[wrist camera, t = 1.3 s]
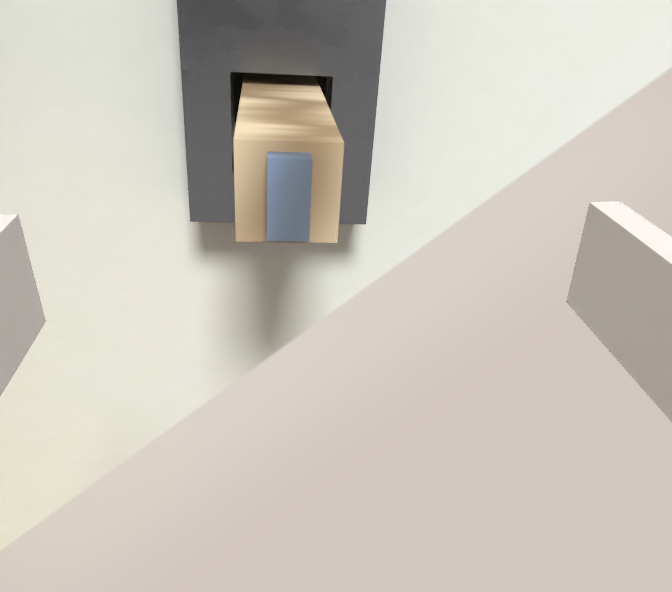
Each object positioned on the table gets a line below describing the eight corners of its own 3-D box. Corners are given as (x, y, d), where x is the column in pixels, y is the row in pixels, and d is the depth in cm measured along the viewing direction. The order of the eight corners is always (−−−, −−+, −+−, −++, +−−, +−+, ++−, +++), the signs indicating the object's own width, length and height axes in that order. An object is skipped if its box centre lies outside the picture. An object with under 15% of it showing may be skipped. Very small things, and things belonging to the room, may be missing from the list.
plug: (245, 144, 36) (234, 250, 23) (244, 73, 34) (232, 145, 21) (312, 146, 36) (339, 251, 23) (315, 76, 34) (346, 148, 21)
